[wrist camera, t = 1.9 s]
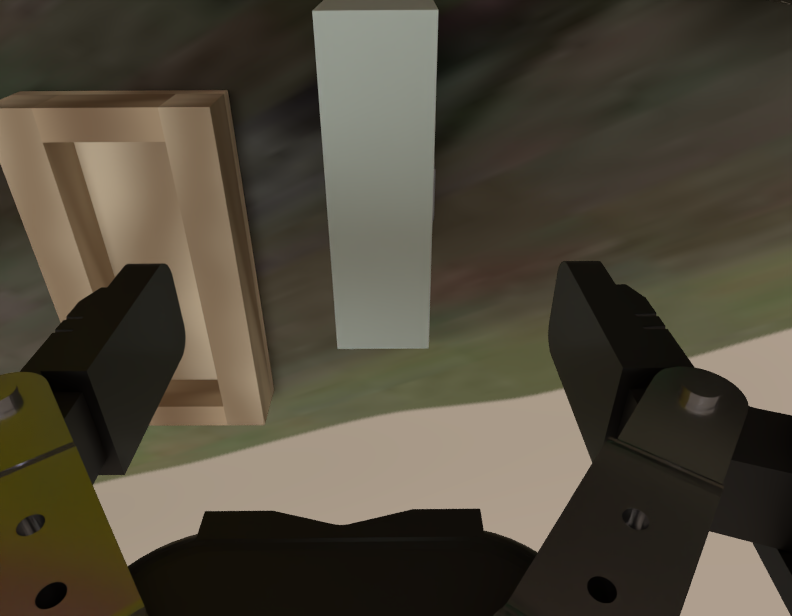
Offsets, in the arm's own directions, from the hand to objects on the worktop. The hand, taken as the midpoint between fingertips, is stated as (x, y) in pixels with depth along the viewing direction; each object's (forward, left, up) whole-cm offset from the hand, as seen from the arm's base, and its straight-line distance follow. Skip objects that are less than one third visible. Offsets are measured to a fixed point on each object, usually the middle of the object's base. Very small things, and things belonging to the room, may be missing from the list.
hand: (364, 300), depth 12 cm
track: (+10, +6, -13) cm, 17 cm away
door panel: (0, 0, -13) cm, 13 cm away
